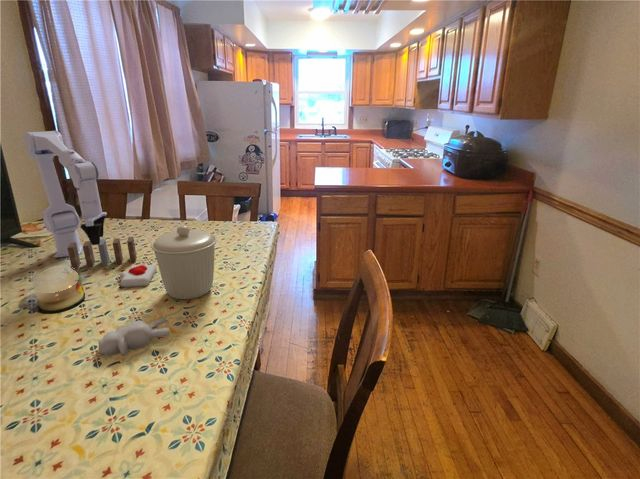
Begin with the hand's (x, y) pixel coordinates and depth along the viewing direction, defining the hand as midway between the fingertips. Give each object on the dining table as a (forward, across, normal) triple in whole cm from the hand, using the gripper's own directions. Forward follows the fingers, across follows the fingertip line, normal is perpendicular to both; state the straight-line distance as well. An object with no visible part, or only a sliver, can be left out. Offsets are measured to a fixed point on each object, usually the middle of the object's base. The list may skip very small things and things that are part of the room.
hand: (97, 240), depth 126 cm
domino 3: (+10, +6, -4) cm, 13 cm away
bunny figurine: (+11, -49, -13) cm, 52 cm away
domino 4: (+11, +6, -9) cm, 15 cm away
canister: (+11, -26, -27) cm, 39 cm away
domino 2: (+10, +6, +5) cm, 13 cm away
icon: (+11, -11, -11) cm, 19 cm away
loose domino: (+10, +6, 0) cm, 12 cm away
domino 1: (+10, +6, +9) cm, 15 cm away
